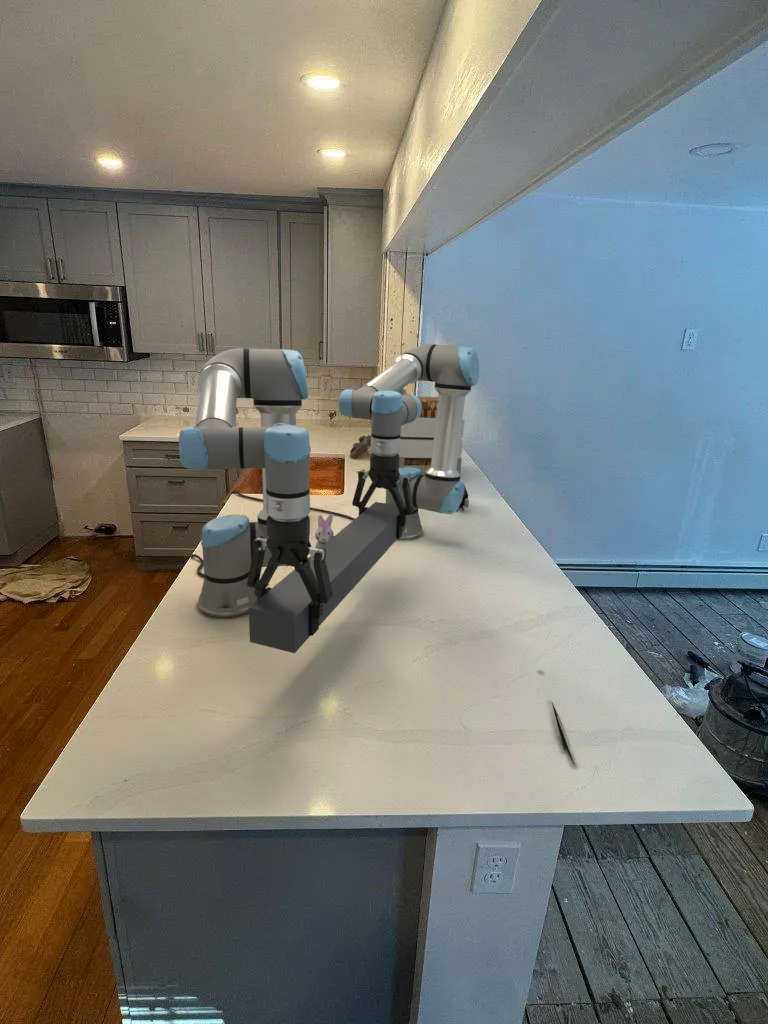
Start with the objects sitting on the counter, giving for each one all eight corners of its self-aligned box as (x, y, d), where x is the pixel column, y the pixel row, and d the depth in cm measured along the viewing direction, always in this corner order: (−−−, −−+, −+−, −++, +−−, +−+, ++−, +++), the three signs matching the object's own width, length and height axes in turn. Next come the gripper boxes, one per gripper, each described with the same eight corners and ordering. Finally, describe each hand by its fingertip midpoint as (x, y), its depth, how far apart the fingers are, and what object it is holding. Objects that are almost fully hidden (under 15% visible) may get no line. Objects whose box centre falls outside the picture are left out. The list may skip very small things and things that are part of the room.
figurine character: (468, 516, 224) (463, 500, 237) (471, 498, 221) (465, 483, 234) (452, 515, 224) (447, 499, 237) (453, 498, 220) (449, 482, 234)
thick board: (374, 525, 161) (375, 501, 158) (405, 530, 158) (406, 506, 156) (249, 642, 103) (248, 607, 100) (294, 653, 100) (294, 618, 98)
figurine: (319, 569, 170) (319, 523, 165) (307, 556, 178) (307, 511, 173) (348, 564, 174) (349, 519, 169) (335, 552, 182) (336, 508, 177)
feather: (541, 676, 126) (546, 670, 126) (574, 768, 100) (581, 761, 99) (535, 672, 126) (540, 666, 126) (566, 764, 100) (573, 756, 99)
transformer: (382, 463, 289) (386, 382, 275) (445, 464, 293) (451, 384, 279) (390, 482, 257) (394, 392, 243) (460, 483, 261) (468, 394, 247)
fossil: (350, 441, 314) (371, 426, 309) (360, 454, 317) (382, 440, 312) (343, 455, 294) (366, 439, 289) (355, 469, 297) (378, 453, 292)
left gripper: (222, 512, 99) (228, 623, 107) (336, 532, 93) (335, 649, 101) (245, 499, 106) (250, 605, 114) (354, 518, 100) (351, 628, 107)
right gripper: (339, 451, 145) (338, 532, 153) (422, 461, 139) (416, 545, 146) (351, 445, 152) (349, 523, 160) (430, 454, 145) (424, 535, 153)
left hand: (290, 626), depth 107 cm, fingers closed on thick board, 9 cm apart
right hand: (381, 534), depth 153 cm, fingers closed on thick board, 9 cm apart
